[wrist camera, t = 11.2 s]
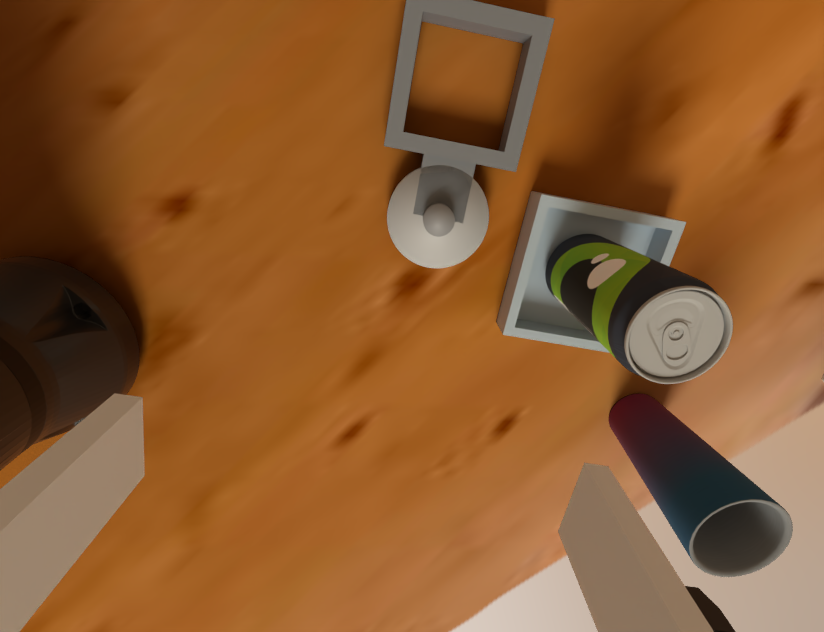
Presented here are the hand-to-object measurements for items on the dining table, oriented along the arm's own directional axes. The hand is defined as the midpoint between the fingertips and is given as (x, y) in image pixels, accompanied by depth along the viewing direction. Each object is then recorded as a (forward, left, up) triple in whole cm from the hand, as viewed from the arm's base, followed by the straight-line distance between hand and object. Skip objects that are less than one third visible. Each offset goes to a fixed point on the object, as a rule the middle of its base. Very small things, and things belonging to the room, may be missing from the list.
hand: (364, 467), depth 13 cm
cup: (+26, -11, -27) cm, 39 cm away
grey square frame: (+3, +14, -27) cm, 30 cm away
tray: (+16, +2, -27) cm, 31 cm away
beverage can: (+16, +2, -26) cm, 31 cm away
